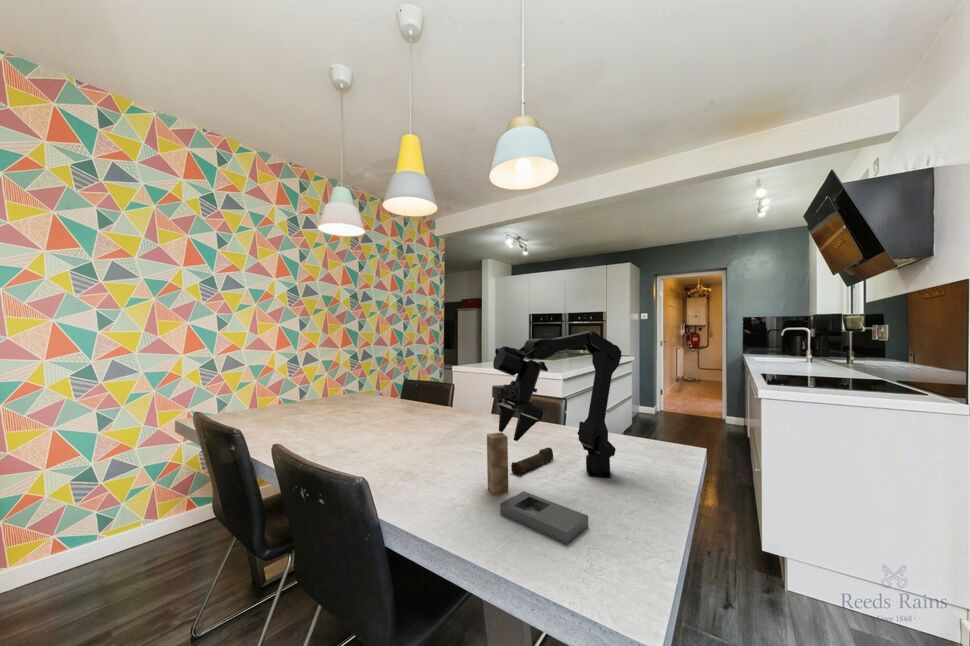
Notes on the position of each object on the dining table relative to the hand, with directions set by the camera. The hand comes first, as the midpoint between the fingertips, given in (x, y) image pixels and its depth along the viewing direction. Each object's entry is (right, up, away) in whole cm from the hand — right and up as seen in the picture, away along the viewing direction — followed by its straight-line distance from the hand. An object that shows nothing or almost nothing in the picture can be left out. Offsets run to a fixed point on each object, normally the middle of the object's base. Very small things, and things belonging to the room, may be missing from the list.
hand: (507, 436), depth 96 cm
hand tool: (+10, -16, +18) cm, 26 cm away
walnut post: (-3, -15, +1) cm, 15 cm away
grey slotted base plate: (+7, -15, -15) cm, 22 cm away
